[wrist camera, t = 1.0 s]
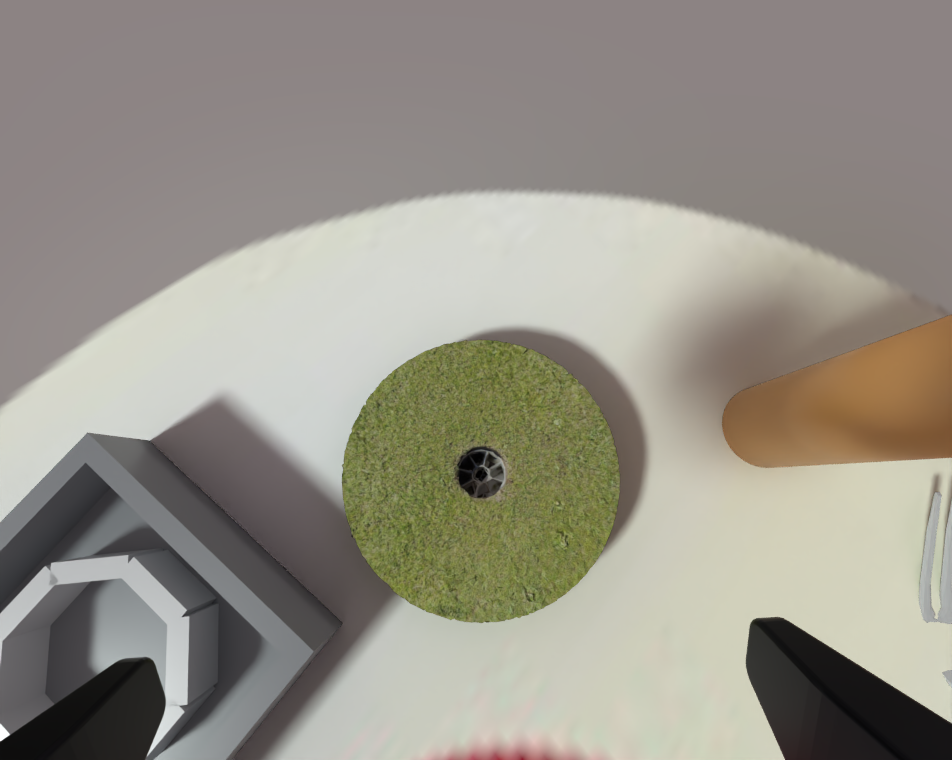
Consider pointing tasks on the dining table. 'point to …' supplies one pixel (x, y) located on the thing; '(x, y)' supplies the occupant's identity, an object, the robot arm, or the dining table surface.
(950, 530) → the fork
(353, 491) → the olive green flat disc
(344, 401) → the dining table surface
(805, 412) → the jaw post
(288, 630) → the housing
